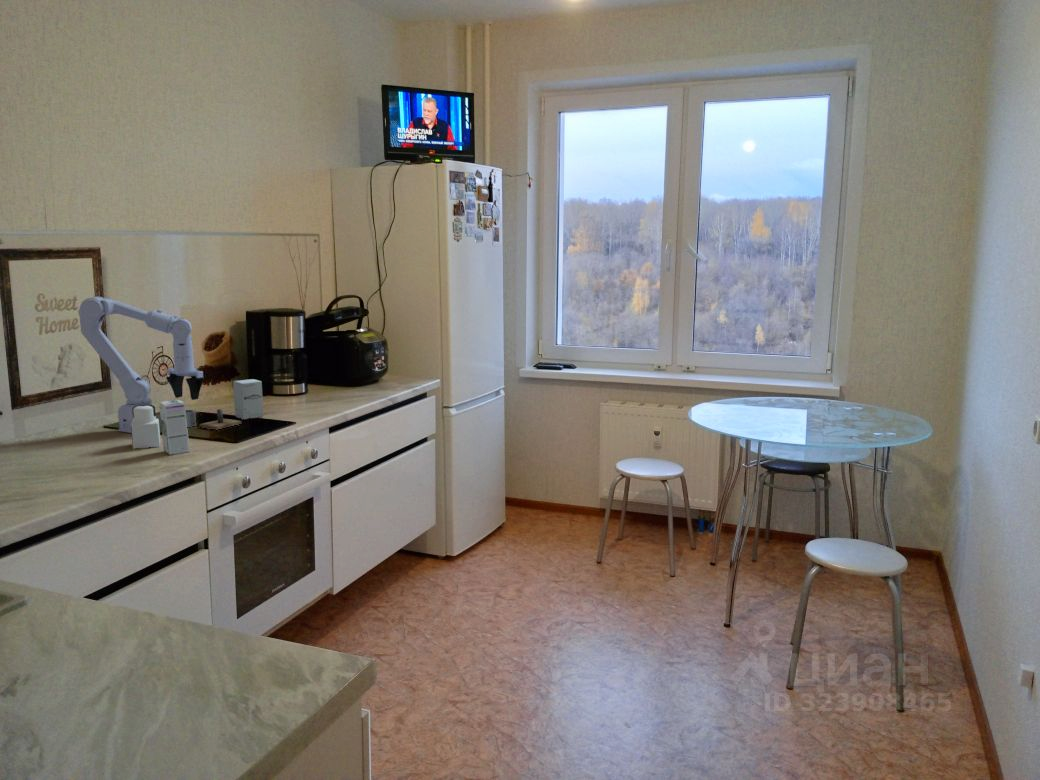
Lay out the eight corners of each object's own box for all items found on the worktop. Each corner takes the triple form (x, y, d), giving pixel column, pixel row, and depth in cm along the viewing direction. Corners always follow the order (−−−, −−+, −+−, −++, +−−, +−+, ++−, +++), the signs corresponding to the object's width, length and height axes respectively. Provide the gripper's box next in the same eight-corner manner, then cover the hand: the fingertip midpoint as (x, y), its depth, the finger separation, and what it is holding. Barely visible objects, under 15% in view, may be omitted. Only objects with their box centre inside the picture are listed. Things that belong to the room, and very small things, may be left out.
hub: (187, 428, 250) (186, 413, 249) (179, 426, 252) (177, 411, 251) (198, 425, 254) (197, 410, 253) (189, 424, 256) (188, 409, 255)
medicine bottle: (134, 443, 230) (130, 404, 228) (160, 441, 233) (157, 402, 231) (132, 449, 224) (129, 408, 221) (159, 446, 226) (156, 406, 224)
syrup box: (190, 452, 221) (186, 402, 218) (168, 455, 217) (164, 404, 214) (184, 448, 225) (180, 399, 222) (162, 451, 221) (158, 401, 219)
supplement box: (243, 420, 262) (240, 383, 260) (234, 416, 268) (232, 380, 266) (264, 417, 267) (262, 380, 265) (255, 413, 273) (253, 378, 270)
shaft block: (217, 430, 247) (215, 413, 246) (199, 427, 251) (198, 411, 250) (241, 424, 256) (240, 408, 255) (224, 422, 259) (223, 405, 258)
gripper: (209, 356, 249) (212, 398, 251) (178, 353, 256) (181, 394, 258) (191, 359, 243) (194, 401, 245) (160, 356, 249) (163, 397, 252)
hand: (186, 398), depth 251 cm, fingers open, 7 cm apart
